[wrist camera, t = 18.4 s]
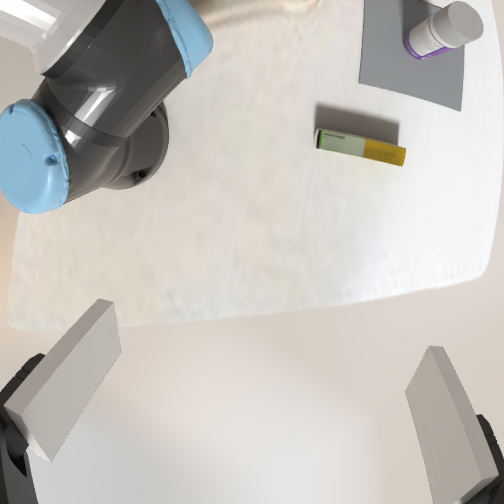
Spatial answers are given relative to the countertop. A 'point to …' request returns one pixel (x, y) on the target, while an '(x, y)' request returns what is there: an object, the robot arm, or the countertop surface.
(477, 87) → the countertop surface
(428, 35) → the container
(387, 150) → the medication box
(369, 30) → the grey mat
